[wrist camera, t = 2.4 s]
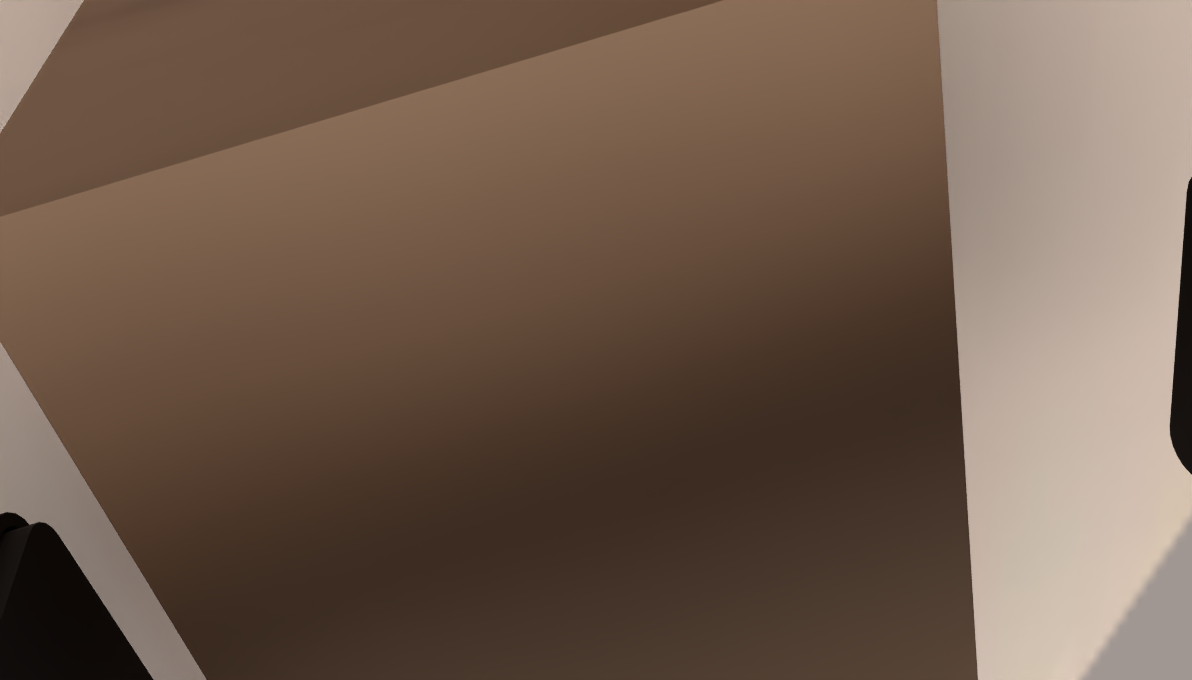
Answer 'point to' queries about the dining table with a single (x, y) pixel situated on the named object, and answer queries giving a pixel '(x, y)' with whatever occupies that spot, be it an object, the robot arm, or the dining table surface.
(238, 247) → the walnut cabinet
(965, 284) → the dining table surface
